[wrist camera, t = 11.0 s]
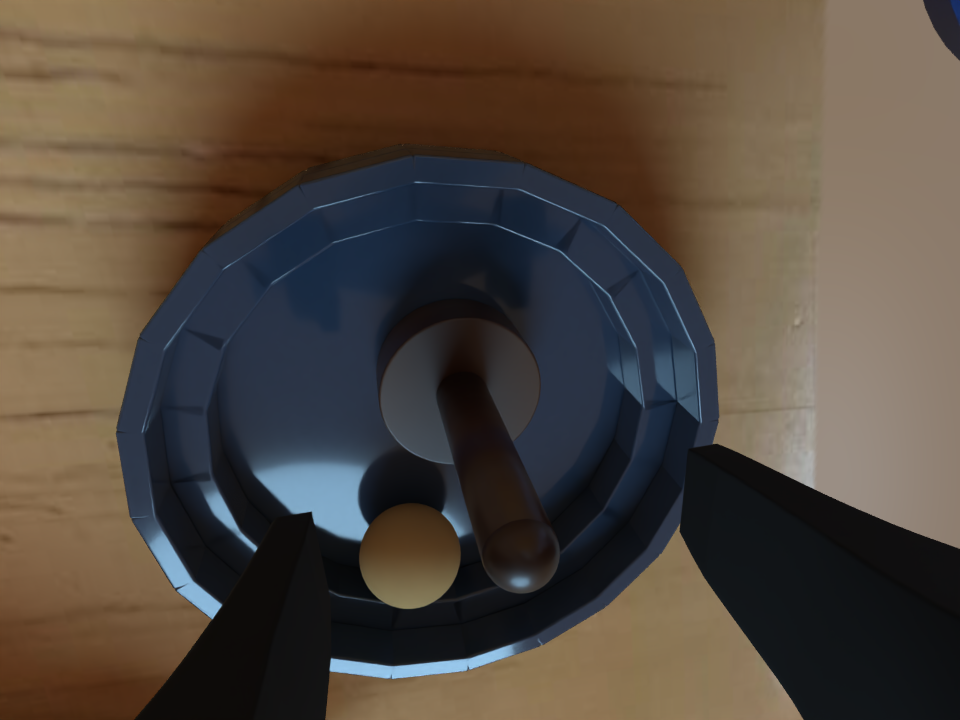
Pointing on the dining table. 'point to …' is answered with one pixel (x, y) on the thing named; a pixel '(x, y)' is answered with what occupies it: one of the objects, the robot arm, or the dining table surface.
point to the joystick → (473, 426)
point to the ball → (409, 555)
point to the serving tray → (355, 405)
